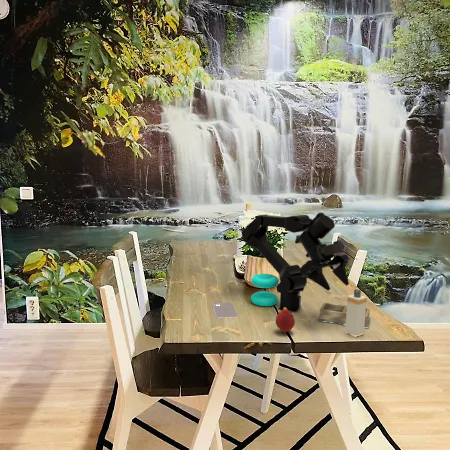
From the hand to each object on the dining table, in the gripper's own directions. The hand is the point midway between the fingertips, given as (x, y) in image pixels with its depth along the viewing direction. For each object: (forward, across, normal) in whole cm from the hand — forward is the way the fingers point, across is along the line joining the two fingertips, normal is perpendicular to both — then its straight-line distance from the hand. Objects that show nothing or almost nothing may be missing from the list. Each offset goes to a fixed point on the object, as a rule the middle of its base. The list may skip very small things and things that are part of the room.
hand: (338, 287), depth 144 cm
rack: (+8, +7, +11) cm, 15 cm away
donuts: (-12, -3, +31) cm, 33 cm away
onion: (+5, -17, +14) cm, 22 cm away
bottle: (+14, 0, +4) cm, 15 cm away
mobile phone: (-13, -20, +32) cm, 40 cm away
